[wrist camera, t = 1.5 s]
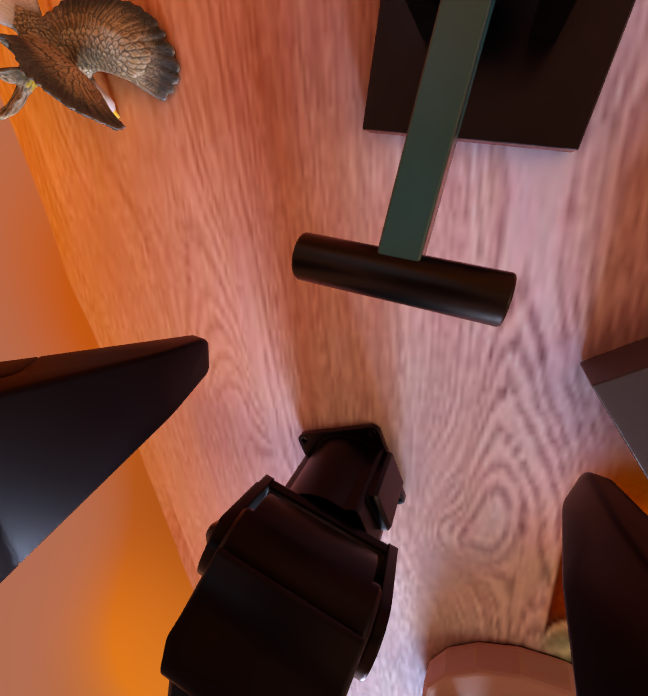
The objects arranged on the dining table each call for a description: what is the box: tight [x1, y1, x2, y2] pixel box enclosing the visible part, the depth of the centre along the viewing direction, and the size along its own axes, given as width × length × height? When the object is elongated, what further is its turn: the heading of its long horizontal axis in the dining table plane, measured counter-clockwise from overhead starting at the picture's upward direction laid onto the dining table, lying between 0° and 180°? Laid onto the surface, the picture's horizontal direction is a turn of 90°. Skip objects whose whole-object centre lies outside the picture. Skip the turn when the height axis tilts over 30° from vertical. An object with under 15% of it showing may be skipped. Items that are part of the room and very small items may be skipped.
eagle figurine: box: [0, 0, 180, 131], centre depth 19 cm, size 8×7×9 cm
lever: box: [292, 0, 517, 327], centre depth 9 cm, size 12×6×2 cm, turn 173°
